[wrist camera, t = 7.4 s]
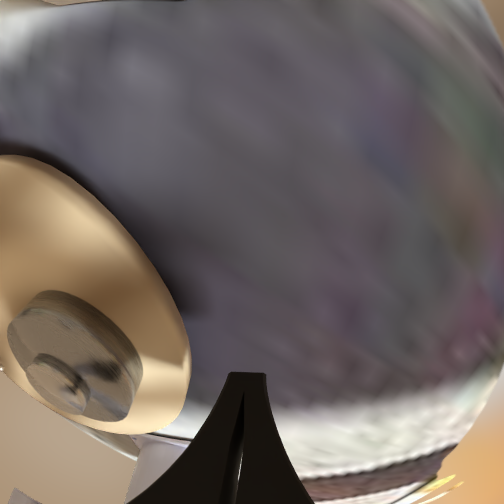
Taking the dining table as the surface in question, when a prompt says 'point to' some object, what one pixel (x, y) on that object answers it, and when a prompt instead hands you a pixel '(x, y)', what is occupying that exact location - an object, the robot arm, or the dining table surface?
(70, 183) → the platter
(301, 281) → the dining table surface
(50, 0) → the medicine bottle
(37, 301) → the cover
